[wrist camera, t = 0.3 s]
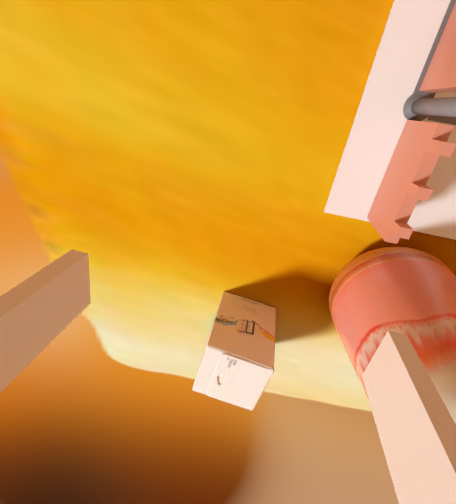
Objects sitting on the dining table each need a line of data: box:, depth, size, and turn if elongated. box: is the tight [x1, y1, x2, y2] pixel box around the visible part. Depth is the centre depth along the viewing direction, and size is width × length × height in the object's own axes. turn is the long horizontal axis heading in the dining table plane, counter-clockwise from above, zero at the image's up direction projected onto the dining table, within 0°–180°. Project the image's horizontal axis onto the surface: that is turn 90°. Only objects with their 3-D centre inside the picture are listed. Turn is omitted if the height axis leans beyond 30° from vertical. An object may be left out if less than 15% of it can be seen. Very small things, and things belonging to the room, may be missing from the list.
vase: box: [329, 246, 456, 424], centre depth 26 cm, size 14×14×30 cm
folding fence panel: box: [367, 120, 456, 244], centre depth 28 cm, size 11×1×9 cm, turn 171°
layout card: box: [324, 0, 456, 240], centre depth 29 cm, size 23×18×1 cm
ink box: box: [192, 292, 276, 411], centre depth 40 cm, size 9×8×12 cm
